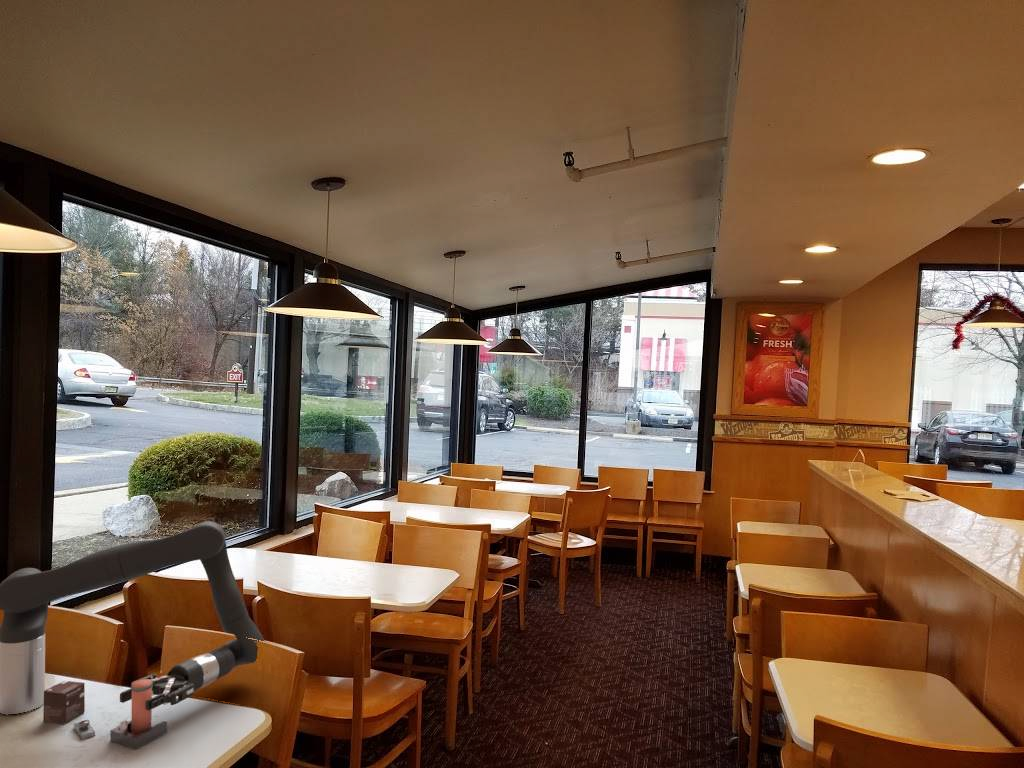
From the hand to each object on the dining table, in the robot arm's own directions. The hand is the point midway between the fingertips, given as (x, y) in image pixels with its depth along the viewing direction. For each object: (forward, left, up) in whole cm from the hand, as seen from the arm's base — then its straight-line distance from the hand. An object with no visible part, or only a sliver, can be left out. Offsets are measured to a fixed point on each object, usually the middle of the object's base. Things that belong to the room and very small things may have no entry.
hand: (133, 702), depth 153 cm
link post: (-1, +2, -8) cm, 9 cm away
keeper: (-1, +2, -8) cm, 9 cm away
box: (-23, -8, -9) cm, 26 cm away
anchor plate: (-12, -7, -8) cm, 16 cm away
